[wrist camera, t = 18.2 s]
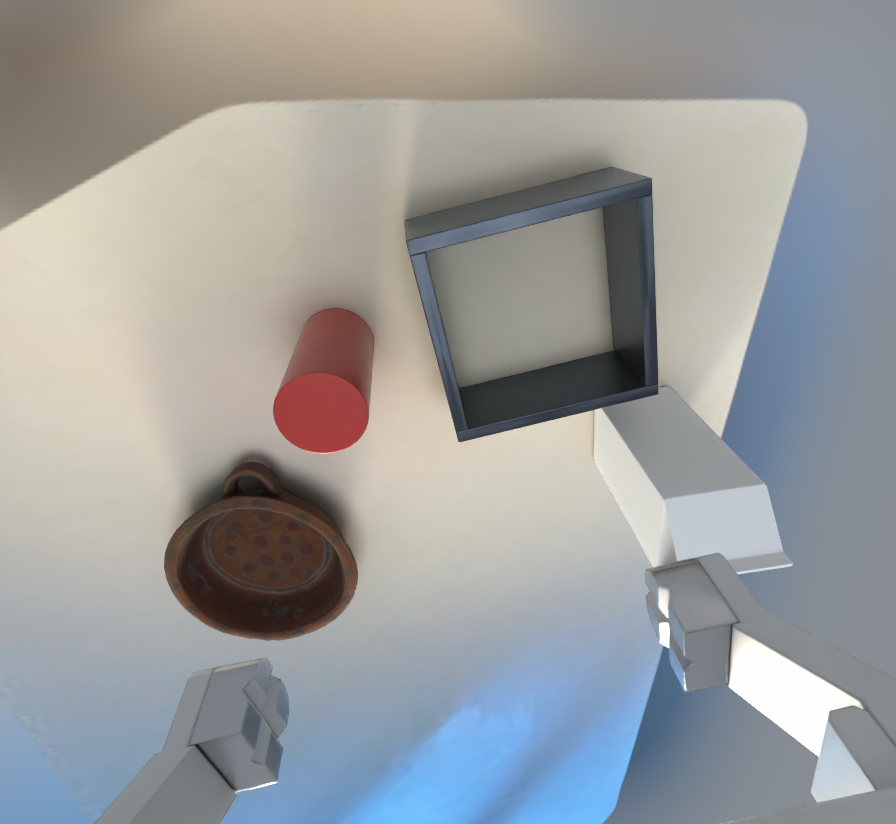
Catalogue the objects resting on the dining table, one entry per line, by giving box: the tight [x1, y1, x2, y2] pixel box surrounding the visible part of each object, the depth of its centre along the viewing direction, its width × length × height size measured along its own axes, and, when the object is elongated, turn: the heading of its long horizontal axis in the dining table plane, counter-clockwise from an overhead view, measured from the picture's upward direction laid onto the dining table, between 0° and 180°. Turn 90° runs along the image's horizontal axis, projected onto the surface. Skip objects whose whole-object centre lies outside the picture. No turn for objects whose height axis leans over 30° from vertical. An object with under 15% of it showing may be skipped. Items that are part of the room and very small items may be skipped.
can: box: [273, 309, 374, 453], centre depth 40 cm, size 6×6×12 cm
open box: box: [404, 167, 658, 442], centre depth 42 cm, size 16×16×7 cm
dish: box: [164, 462, 358, 641], centre depth 53 cm, size 18×22×5 cm
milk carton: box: [594, 387, 793, 574], centre depth 44 cm, size 7×7×19 cm
